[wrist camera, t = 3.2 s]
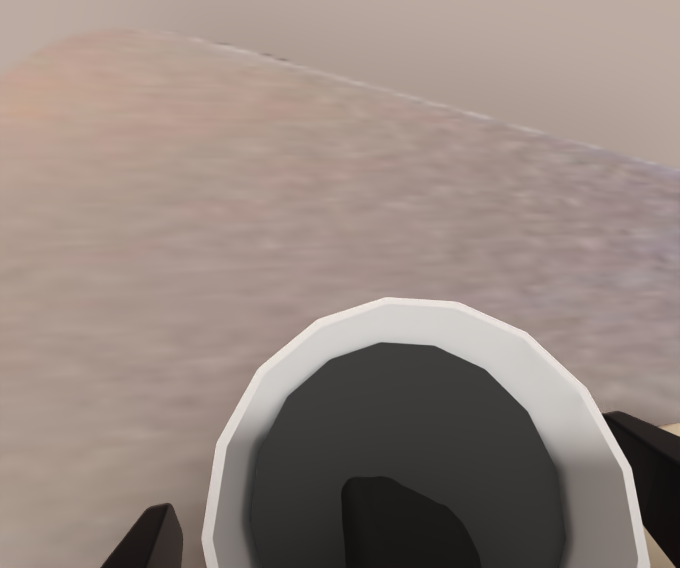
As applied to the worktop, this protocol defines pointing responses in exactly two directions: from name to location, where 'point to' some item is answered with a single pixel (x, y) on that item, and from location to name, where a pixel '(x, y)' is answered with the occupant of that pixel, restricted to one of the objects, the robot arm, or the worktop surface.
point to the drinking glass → (419, 452)
